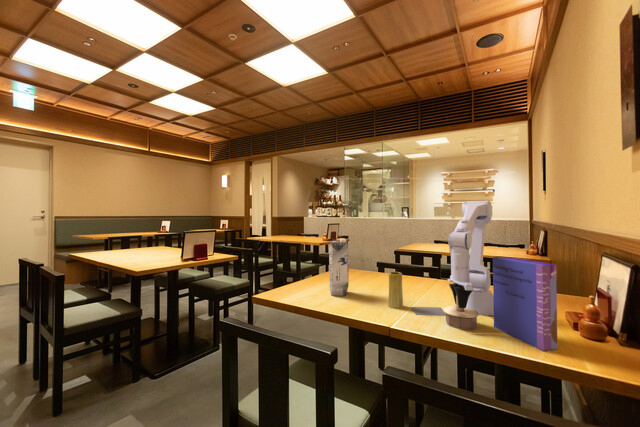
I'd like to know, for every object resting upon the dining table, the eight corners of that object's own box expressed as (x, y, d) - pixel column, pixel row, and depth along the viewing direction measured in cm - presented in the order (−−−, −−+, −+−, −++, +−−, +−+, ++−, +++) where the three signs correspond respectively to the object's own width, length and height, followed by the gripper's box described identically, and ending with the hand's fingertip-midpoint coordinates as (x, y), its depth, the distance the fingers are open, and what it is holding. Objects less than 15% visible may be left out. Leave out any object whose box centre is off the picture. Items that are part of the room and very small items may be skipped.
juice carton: (328, 296, 139) (328, 239, 139) (331, 290, 149) (331, 237, 150) (347, 296, 137) (347, 239, 138) (349, 291, 148) (348, 238, 148)
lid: (471, 308, 105) (471, 292, 105) (483, 318, 94) (483, 301, 94) (439, 306, 107) (439, 291, 107) (447, 316, 96) (447, 299, 96)
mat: (440, 308, 119) (440, 307, 119) (448, 316, 109) (448, 315, 109) (410, 307, 120) (410, 306, 120) (416, 315, 110) (416, 314, 110)
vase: (403, 310, 117) (403, 274, 118) (388, 309, 119) (388, 274, 119) (402, 305, 123) (402, 271, 124) (387, 304, 125) (387, 271, 125)
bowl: (469, 321, 104) (469, 310, 104) (480, 331, 95) (480, 318, 95) (443, 320, 105) (443, 309, 105) (451, 330, 96) (451, 318, 96)
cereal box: (557, 349, 82) (556, 264, 82) (543, 351, 81) (542, 264, 81) (505, 327, 99) (504, 256, 99) (493, 328, 98) (492, 256, 98)
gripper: (441, 263, 108) (441, 300, 108) (455, 270, 94) (456, 312, 93) (461, 263, 107) (461, 300, 107) (478, 270, 93) (479, 313, 93)
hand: (460, 306), depth 100 cm, fingers closed on lid, 2 cm apart
